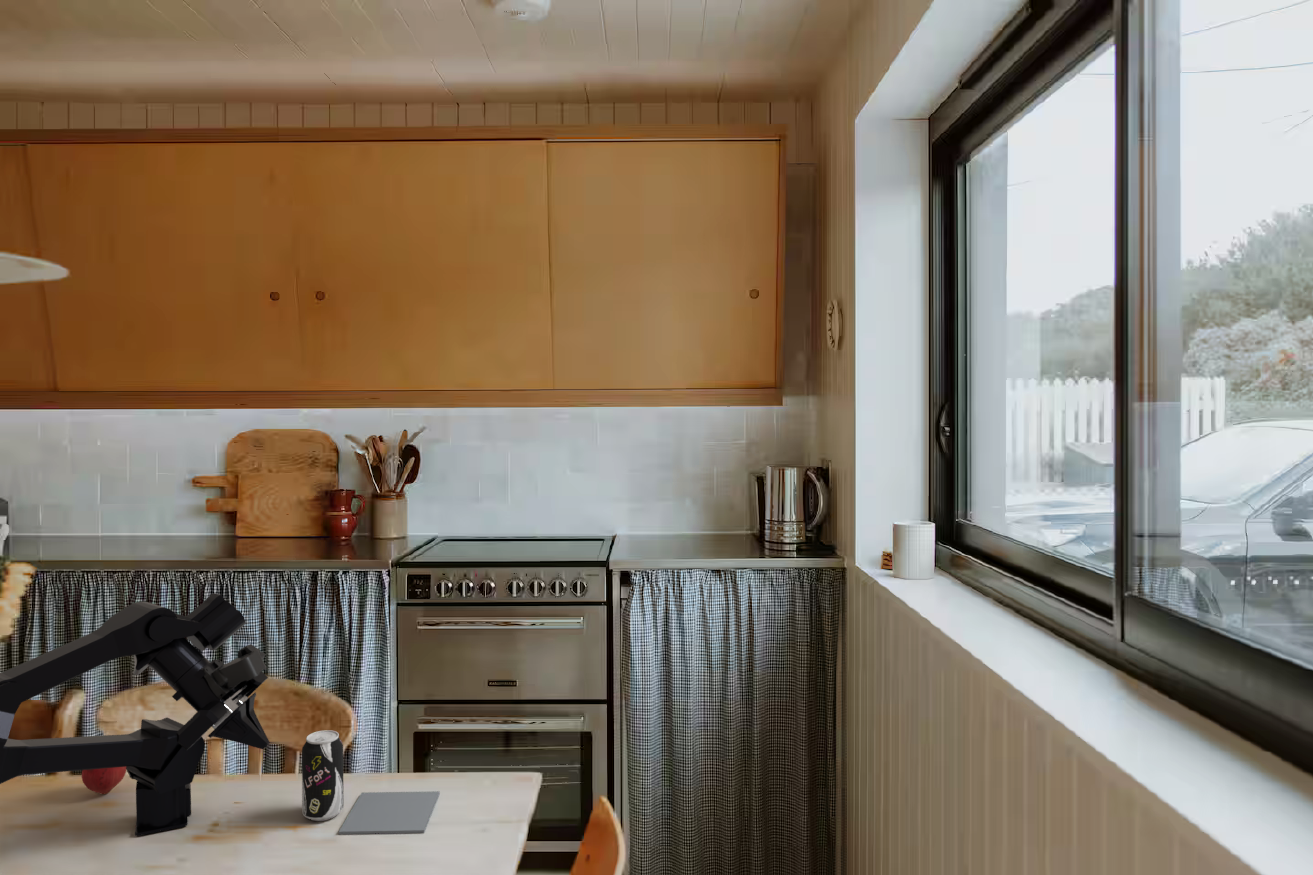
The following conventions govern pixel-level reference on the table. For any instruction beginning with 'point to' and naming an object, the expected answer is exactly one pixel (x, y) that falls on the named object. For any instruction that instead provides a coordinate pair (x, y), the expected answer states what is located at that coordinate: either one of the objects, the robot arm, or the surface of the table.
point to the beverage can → (322, 775)
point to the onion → (103, 778)
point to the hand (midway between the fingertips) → (266, 745)
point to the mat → (390, 813)
